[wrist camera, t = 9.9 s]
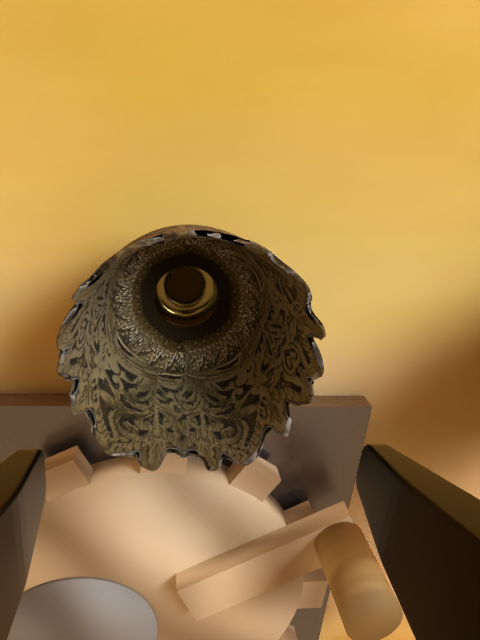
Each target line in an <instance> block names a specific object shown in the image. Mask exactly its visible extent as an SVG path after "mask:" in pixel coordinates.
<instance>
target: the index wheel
mask: <svg viewBox="0 0 480 640" xmlns="http://www.w3.org/2000/svg"><path fill="white" fill-rule="evenodd" d="M166 454H167V453H166ZM166 454H165V455H166ZM165 455H164V456H165ZM45 474H46V496H45V502H44V506H43V511H42V515H41V520H40V524H39V529H38V533H37V538H36V542H35V547H34V551H33V556H32V560H31V565H30V569H29V573H28V577H27V581H26V585H25V588H24V591H23V594H22V597H21V600H20V603H19V606H18V609H17V612H16V615H15V618H14V621H13V623H12V626H11V629H10V632H9V635H8V638H7V640H298V639H297V636H296V632H295V628H294V626H292V625H289V624H290V622H291V620H292V618H293V617H294V615H295V612H296V610H297V609H302V608H321V606H322V603H323V599H324V596H325V592H326V588H327V585H328V584H329V587H330V590H331V592H332V595H333V598H334V600H335V603H336V606H337V608H338V611H339V614H340V616H341V619H342V622H343V625H344V627H345V630H346V633H347V635H348V636H349V637H350V638H351V639H353V640H380V639H382V638H384V637H386V636H388V635H389V634H391V633H392V632H393V631H394V630H395V629H396V628H397V627H398V626H399V624H400V622H401V620H402V616H403V613H402V609H401V607H400V605H399V603H398V601H397V599H396V597H395V595H394V593H393V591H392V589H391V588H390V586H389V584H388V582H387V580H386V578H385V576H384V574H383V572H382V570H381V568H380V566H379V564H378V562H377V560H376V558H375V556H374V554H373V552H372V550H371V548H370V546H369V544H368V542H367V540H366V538H365V536H364V534H363V533H362V531H361V529H360V528H359V526H357V525H356V524H354V522H353V519H352V517H351V515H350V513H349V511H348V509H347V507H346V505H345V503H344V501H342V502H339V503H337V504H335V505H332V506H330V507H328V508H325V509H323V510H321V511H318V512H316V513H314V512H313V509H312V507H311V505H310V503H309V500H308V501H305V502H303V503H301V504H298V505H296V506H294V507H291V508H289V509H287V510H285V511H284V510H283V509H282V507H281V506H280V505H279V503H278V502H277V501H276V499H275V498H274V497H273V496H272V495H271V494H270V493H271V492H272V490H273V489H274V488H275V487H276V486H277V485H278V484H279V483H280V482H281V478H280V475H279V472H278V470H277V467H276V466H274V465H273V464H271V463H269V462H267V461H266V460H264V459H262V458H260V457H257V459H256V460H254V461H253V462H252V463H251V464H249V465H248V466H241V465H239V464H238V463H235V462H233V464H232V465H231V466H230V467H229V466H226V465H223V464H221V465H220V467H219V468H218V469H217V470H216V471H208V470H207V469H206V467H205V465H204V462H203V460H201V459H199V457H194V456H188V457H186V458H181V457H179V456H178V455H177V454H170V453H168V454H167V455H166V456H165V457H164V461H163V463H162V465H161V467H160V468H159V469H157V470H156V471H150V470H148V469H145V468H143V467H142V466H140V465H139V463H138V458H137V457H127V456H122V457H118V458H113V459H108V460H104V461H100V462H97V463H94V464H91V465H90V464H89V462H88V461H87V459H86V458H85V456H84V455H83V453H82V452H81V451H80V449H79V448H78V446H77V445H76V446H74V447H72V448H69V449H67V450H65V451H63V452H60V453H58V454H56V455H53V456H51V457H49V458H46V459H45Z"/></svg>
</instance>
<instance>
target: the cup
mask: <svg viewBox="0 0 480 640" xmlns="http://www.w3.org/2000/svg"><path fill="white" fill-rule="evenodd" d="M183 267H187V268H192V269H194V270H196V271H197V272H198V273H199V274H200V275H201V277H202V279H203V282H204V289H203V292H202V294H201V296H200V297H199V298H198V299H197V300H195V301H193V302H191V303H179V302H177V301H175V300H173V299H172V298H171V297H170V296H169V294H168V292H167V289H166V282H167V279H168V277H169V275H170V274H171V273H172V272H173V271H174V270H176V269H178V268H183ZM72 300H74V301H75V305H74V306H73V308H72V309H71V310H70V312H69V313H68V315H67V317H66V318H65V319H64V321H63V323H62V325H61V328H60V330H59V333H58V336H57V341H56V342H57V349H61V350H60V352H59V354H58V355H59V362H58V366H57V373H58V374H59V375H60V376H62V377H64V378H65V380H66V381H73V383H72V389H71V392H70V394H69V395H70V402H71V414H72V415H73V416H74V415H77V414H80V413H82V412H84V413H86V415H87V417H88V419H89V421H90V424H91V432H92V434H93V435H94V437H95V438H96V440H97V441H98V443H99V444H100V446H101V447H102V449H103V451H104V452H105V453H106V454H108V455H110V456H116V457H117V456H127V457H137V458H138V463H139V465H140V466H142V467H143V468H145V469H148V470H150V471H156V470H157V469H159V468H160V467H161V465H162V463H163V461H164V457H165V456H166V455H167V454H168V453H170V454H177V455H178V456H179V457H181V458H186V457H188V456H191V455H192V456H195V455H197V456H198V457H199V459H201V460H203V462H204V465H205V467H206V469H207V470H208V471H216V470H217V469H218V468H219V467H220V465H221V463H222V460H223V458H227V459H229V460H230V461H232V462H235V463H238V464H239V465H241V466H248V465H249V464H251V463H252V462H253V461H254V460H256V459H257V457H258V455H259V453H260V452H261V450H262V448H263V445H264V440H265V438H266V436H267V435H268V434H269V433H270V431H271V430H273V431H274V432H275V433H277V435H282V436H284V437H288V435H289V431H290V426H291V422H292V419H291V416H290V409H289V404H290V405H295V406H300V405H306V404H310V403H311V402H312V401H313V399H314V391H313V386H312V385H313V383H314V381H313V380H316V379H317V378H319V377H322V375H323V373H324V365H323V360H322V357H321V354H320V351H319V349H318V347H317V345H316V343H315V341H314V339H313V337H315V338H319V339H320V340H322V339H323V338H324V337H326V333H325V329H324V326H323V324H322V323H321V321H320V320H319V319H318V318H317V317H316V316H315V314H314V313H313V311H312V309H311V301H312V295H311V291H310V288H309V287H308V285H307V284H306V282H305V281H304V280H303V279H302V278H301V277H300V276H299V275H298V274H297V273H296V272H295V271H294V270H292V269H291V268H290V267H289V266H287V265H286V264H285V263H283V262H282V261H281V260H280V259H278V258H277V257H276V256H274V254H273V253H272V252H270V251H269V250H267V249H266V248H265V247H263V246H261V245H259V244H257V243H255V242H253V241H250V240H245V239H243V238H241V237H238V236H236V235H233V234H231V233H228V232H226V231H223V230H220V229H216V228H212V227H208V226H201V225H175V226H170V227H165V228H161V229H158V230H155V231H152V232H150V233H148V234H145V235H143V236H141V237H139V238H138V239H136V240H134V241H132V242H131V243H129V244H128V245H127V246H125V247H124V248H123V249H121V250H120V251H119V252H117V253H116V254H115V255H113V256H112V257H110V258H109V259H108V260H107V261H105V262H104V263H103V264H102V265H100V267H99V268H98V269H97V270H96V271H95V272H94V273H93V275H92V276H91V277H90V278H89V279H88V280H86V281H85V282H84V283H82V284H81V285H80V286H79V287H78V289H77V290H76V292H75V293H74V295H73V296H72ZM166 453H167V454H166ZM165 454H166V455H165ZM164 455H165V456H164Z"/></svg>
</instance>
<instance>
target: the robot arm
mask: <svg viewBox="0 0 480 640" xmlns="http://www.w3.org/2000/svg"><path fill="white" fill-rule="evenodd" d="M356 484H357V489H358V492H359V495H360V498H361V502H362V505H363V508H364V511H365V514H366V517H367V520H368V523H369V526H370V529H371V532H372V535H373V538H374V541H375V544H376V547H377V550H378V553H379V556H380V559H381V561H382V564H383V566H384V568H385V571H386V573H387V575H388V578H389V580H390V582H391V584H392V587H393V589H394V591H395V593H396V596H397V598H398V600H399V602H400V605H401V607H402V609H403V612H404V614H405V616H406V618H407V621H408V623H409V625H410V627H411V630H412V632H413V634H414V636H415V639H416V640H480V500H479V499H477V498H476V497H474V496H472V495H471V494H469V493H467V492H466V491H464V490H462V489H461V488H459V487H457V486H455V485H454V484H452V483H450V482H449V481H447V480H445V479H444V478H442V477H440V476H439V475H437V474H435V473H434V472H432V471H430V470H429V469H427V468H425V467H423V466H422V465H420V464H418V463H417V462H415V461H413V460H412V459H410V458H408V457H407V456H405V455H403V454H402V453H400V452H398V451H396V450H395V449H393V448H391V447H390V446H388V445H386V444H367V445H365V446H364V448H363V451H362V455H361V459H360V463H359V468H358V472H357V477H356ZM45 496H46V474H45V459H44V453H43V451H42V450H41V449H19V450H17V451H15V452H14V453H12V454H11V455H10V456H8V457H7V458H6V459H4V460H3V461H2V462H0V640H7V638H8V635H9V632H10V629H11V626H12V623H13V621H14V618H15V615H16V612H17V609H18V606H19V603H20V600H21V597H22V594H23V591H24V588H25V585H26V581H27V577H28V573H29V569H30V565H31V560H32V556H33V551H34V547H35V542H36V538H37V533H38V529H39V524H40V520H41V515H42V511H43V506H44V502H45Z"/></svg>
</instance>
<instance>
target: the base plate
mask: <svg viewBox="0 0 480 640" xmlns="http://www.w3.org/2000/svg"><path fill="white" fill-rule="evenodd" d="M371 408H372V406H371V405H370V404H369V402H368V401H367V400H366V399H365V397H364V396H314V399H313V401H312V402H311V403H310V404H306V405H300V406H295V405H290V404H289V409H290V416H291V419H292V422H291V426H290V431H289V435H288V437H284V436H282V435H277V433H275V432H274V431H273V430H271V431H270V433H269V434H268V435H267V436H266V438H265V440H264V445H263V448H262V450H261V452H260V453H259V455H258V457H260V458H262V459H264V460H266V461H267V462H269V463H271V464H273V465H274V466H276V467H277V470H278V472H279V475H280V478H281V482H280V483H279V484H278V485H277V486H276V487H275V488H274V489H273V490H272V492H271V493H270V494H271V495H272V496H273V497H274V498H275V499H276V501H277V502H278V503H279V505H280V506H281V507H282V509H283V510H284V511H285V510H287V509H289V508H291V507H294V506H296V505H298V504H301V503H303V502H305V501H308V500H309V503H310V505H311V507H312V509H313V512H314V513H316V512H318V511H321V510H323V509H325V508H328V507H330V506H332V505H335V504H337V503H339V502H342V501H344V503H345V505H346V507H347V509H348V508H349V504H350V500H351V495H352V491H353V487H354V482H355V478H356V473H357V469H358V465H359V460H360V456H361V452H362V447H363V443H364V439H365V434H366V430H367V425H368V421H369V417H370V412H371ZM76 445H77V446H78V448H79V449H80V451H81V452H82V453H83V455H84V456H85V458H86V459H87V461H88V462H89V464H90V465H91V464H94V463H97V462H100V461H104V460H108V459H113V458H118V457H122V456H117V457H116V456H110V455H108V454H106V453H105V452H104V451H103V449H102V447H101V446H100V444H99V443H98V441H97V440H96V438H95V437H94V435H93V434H92V432H91V424H90V421H89V419H88V417H87V415H86V413H84V412H82V413H80V414H77V415H74V416H73V415H72V414H71V402H70V395H66V394H0V462H2V461H3V460H4V459H6V458H7V457H8V456H10V455H11V454H12V453H14V452H15V451H17V450H19V449H41V450H42V451H43V453H44V459H46V458H49V457H51V456H53V455H56V454H58V453H60V452H63V451H65V450H67V449H69V448H72V447H74V446H76ZM191 456H192V455H191ZM194 457H198V456H197V455H195V456H194ZM221 464H223V465H226V466H229V467H230V466H231V465H232V464H233V462H232V461H230V460H229V459H227V458H223V460H222V463H221ZM329 591H330V587H329V584H328V585H327V588H326V592H325V596H324V599H323V603H322V606H321V608H302V609H297V610H296V612H295V615H294V617H293V618H292V620H291V622H290V624H289V625H292V626H294V628H295V632H296V636H297V639H298V640H318V639H319V635H320V631H321V626H322V622H323V617H324V613H325V609H326V604H327V600H328V596H329Z"/></svg>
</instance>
